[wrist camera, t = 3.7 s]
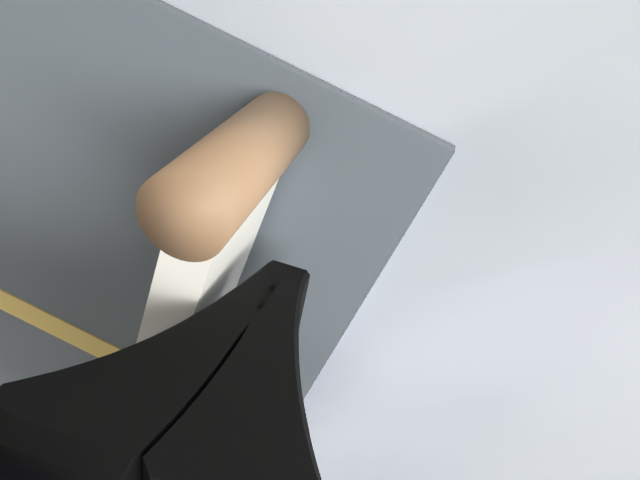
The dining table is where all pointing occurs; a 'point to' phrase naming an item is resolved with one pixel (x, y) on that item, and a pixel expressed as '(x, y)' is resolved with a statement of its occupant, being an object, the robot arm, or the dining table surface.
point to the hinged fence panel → (215, 206)
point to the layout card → (158, 151)
